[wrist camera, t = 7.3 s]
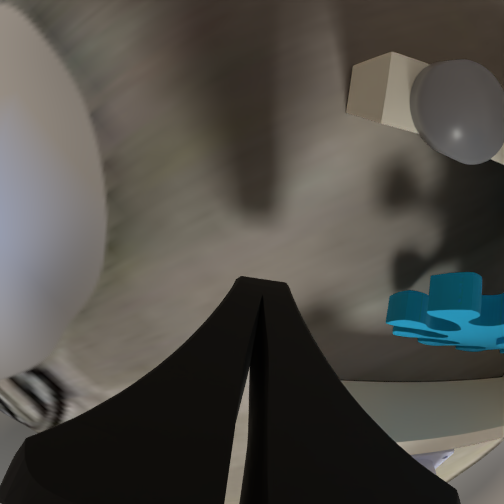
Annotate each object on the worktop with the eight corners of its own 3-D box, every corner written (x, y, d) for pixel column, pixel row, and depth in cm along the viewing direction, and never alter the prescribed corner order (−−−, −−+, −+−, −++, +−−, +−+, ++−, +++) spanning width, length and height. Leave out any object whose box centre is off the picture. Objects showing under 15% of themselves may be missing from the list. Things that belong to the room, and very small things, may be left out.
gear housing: (501, 393, 14) (523, 444, 10) (278, 397, 14) (275, 474, 11) (607, 182, 7) (660, 217, 3) (353, 57, 8) (408, 33, 4)
